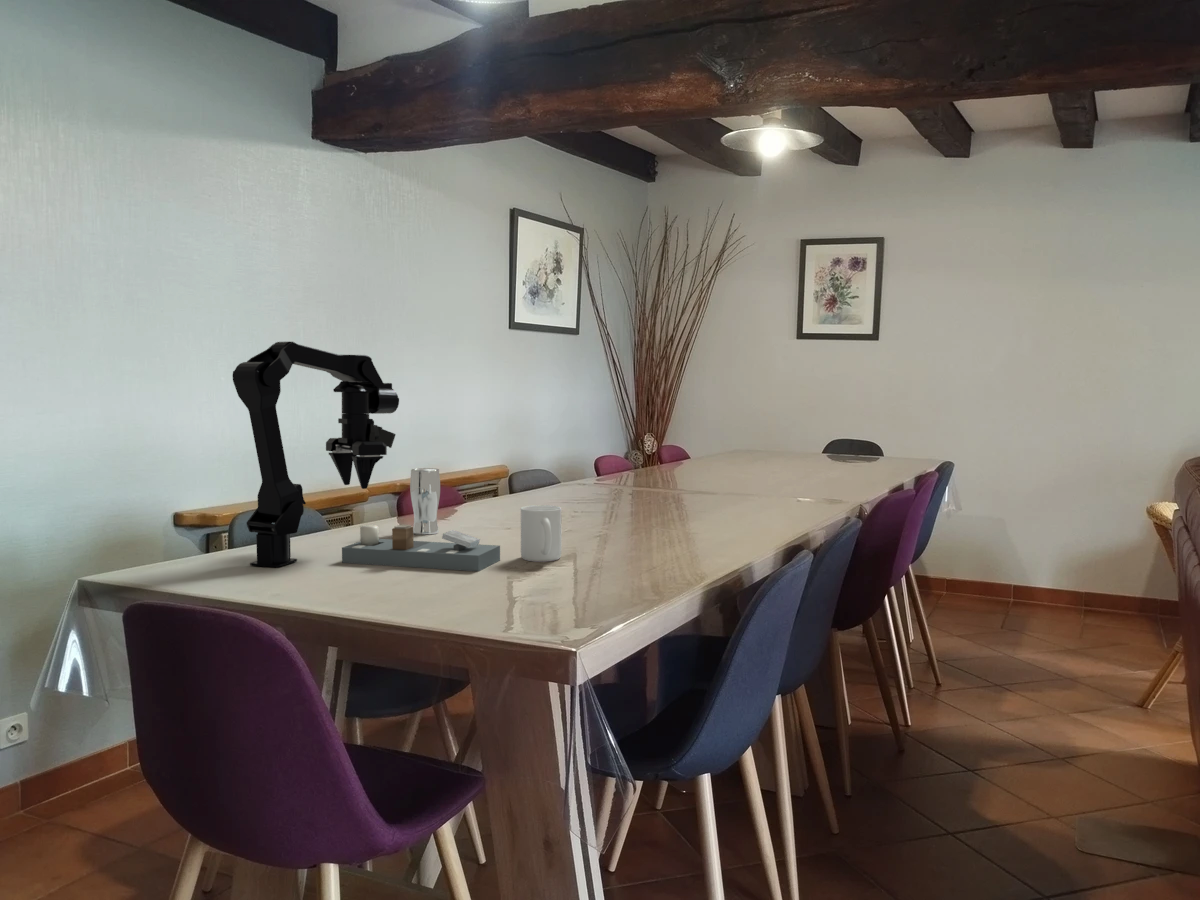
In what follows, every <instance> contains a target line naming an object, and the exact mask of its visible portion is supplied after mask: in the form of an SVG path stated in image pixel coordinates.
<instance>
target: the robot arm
mask: <svg viewBox="0 0 1200 900" xmlns="http://www.w3.org/2000/svg"><path fill="white" fill-rule="evenodd" d="M293 365H296V366H300V367H305V368H308V369H314V370H317V371H321V372H326V373H327V374H330V375H331V377H333V378H335V379H337V380H339V381H340V382H339V384H338V385H336V386H335V387H334V388H333V393H341V418H338V420H337V421H338V422H337V423H338V424H341V437H330V438H328V439H327V441H326V442H325V451H327V452H328V456H330V458H331V460H332V462H333V464H334V465H335V468H336V470H337V473H338V475H339V476H340V478H341V481H342V483H343V485H344V486H349V485H350V483H351V478H352V470H353V466H354V469H355V473H356V475H357V478H358V479H357V480H358V482H359V485H360V487H361V489H362V490H367V489H368V488H369V484H370V480H371V477H372V473H373V470H374V467H375V465H376V464H377V463H378V462H379V461H380V460H381V459H382V460H383V458H384V457H385V456H387V455H388V454H387V450H388V449H387V447H388V448H389V449H391V448H393V447H392V446H393V443H394V441H395V437H396V433H394V432H391V431H388V430H386V429H384V428H383V427H382V426H379V425H377V424H375V420H373V418H370V414H373V415H374V414H377V415H379V414H380V415H381V414H383V415H385V414H393V413H395V412H396V410H398V408H399V404H400V398H399V396H398V395H399V394H397V391H396V390H395V389H394V388H393V383H391V382H384V381H383V380H382V378H381V376H380V374H379V371H378V370H377V368H376V366H375V365H374V363H373V358H372V357H370V356H368V355H366V354H337V353H334V352H329V351H327V350H322V349H318V348H314V347H310V346H307V345H306V346H305V345H303V344H298V343H296V342H294V341H277V342H276V341H275V343H273V344H272V345H270V346H269V347H268V348H267V349H265V350H264V351H261V352H259V353H258V354H255V355H254V356H252V357H250V358H249V359H248V360H247V361H244V362H240V363H239V364H238V365H237V366H236V367H235V369H234V370H233V371H232V382H233V385H234V388H235V391H236V393H237V396H238V398H239V399H240V400H241V402H242V403H243V405H244V406H245V407H246V408H247V410H248V414H249V418H250V423H251V424H250V425H251V429H252V435H253V440H254V444H255V449H256V457H257V461H258V466H259V472H260V476H261V484H260V486H259V491H258V492H257V493H258V494H257V508H256V509H255V510H254V512H253V513H252V514H251V516H250V517H249V518H248V519H247V521H246V526H247V529H248V532H249V533H256V534H255V535H256V536H255V542H256V560H255V561H251V562H250V563H249V565H250V566H255V567H256V566H257V567H269V568H270V567H272V568H280V567H283V566H286V565H290V564H292V563H295V562H297V561H298V558H291V556H292V555H291V537H290V535H292V534H296V533H297V532H298V530H299V526H300V522H301V518H302V516H303V515H304V510H305V509H304V505H306V504H307V503H306V501H305V498H304V495H303V494H304V493H303V492H304V491H303V490H304V489H303V486H302V485H301V483H293V481H292V480H291V479H290V477H289V474H288V473H289V472H288V467H287V462H286V456H285V451H284V446H283V445H284V444H283V441H282V440H283V439H282V434H281V429H280V423H279V418H278V412H277V403H278V400H279V398H280V394H281V392H282V389H281V380H283V379H284V378H285V377H286V376H287V375H288V374H289V373H290V370H291V369H292V367H293Z"/></svg>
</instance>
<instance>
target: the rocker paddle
mask: <svg viewBox="0 0 1200 900" xmlns="http://www.w3.org/2000/svg"><path fill="white" fill-rule="evenodd" d="M441 539H443V540H445V541H448V542H450V543H457V544H460V545H463V546H465V547H468V548H470V547H473V546H475V545H477V544H480V540H481V538H478V537H475V536H472V535H469V534H466V533H463V532H460V531H457V530H454V529H450V530H449V531H446V532H444V533H442V536H441Z"/></svg>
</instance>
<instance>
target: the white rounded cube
mask: <svg viewBox="0 0 1200 900" xmlns="http://www.w3.org/2000/svg"><path fill="white" fill-rule="evenodd" d="M379 529H380V528H379V525H375V524H368V525H367V524H366V525H361V526H359V535H360V536H359V539H360V541H359V542H360V545H366V546H376V545H378V544H379V539H380V538H379V537H380V532H379V531H380V530H379Z"/></svg>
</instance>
